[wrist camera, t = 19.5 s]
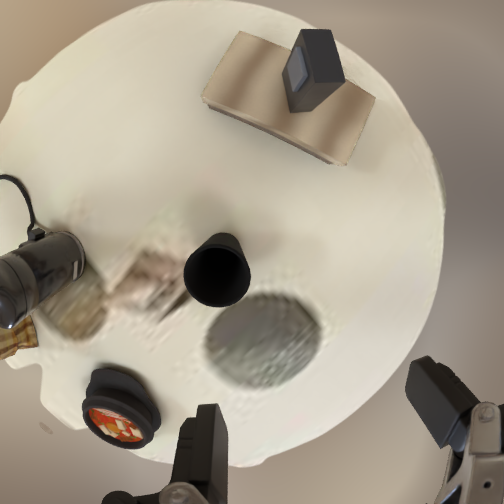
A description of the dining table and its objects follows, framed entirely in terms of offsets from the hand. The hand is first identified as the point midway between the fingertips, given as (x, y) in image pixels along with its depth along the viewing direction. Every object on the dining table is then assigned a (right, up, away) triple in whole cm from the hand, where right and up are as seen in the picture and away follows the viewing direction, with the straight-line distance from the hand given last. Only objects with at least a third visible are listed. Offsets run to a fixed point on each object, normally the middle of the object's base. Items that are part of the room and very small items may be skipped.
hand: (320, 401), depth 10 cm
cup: (-7, +6, +33) cm, 35 cm away
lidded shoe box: (+2, +28, +28) cm, 39 cm away
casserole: (-32, -29, +42) cm, 60 cm away
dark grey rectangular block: (+3, +26, +20) cm, 33 cm away
